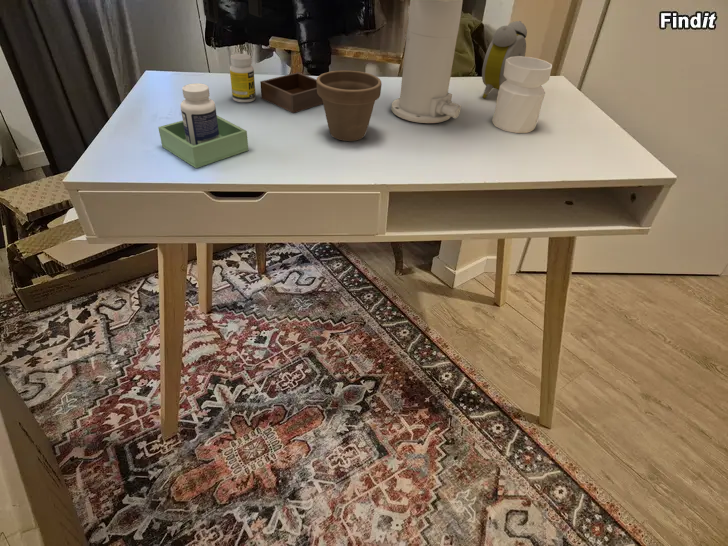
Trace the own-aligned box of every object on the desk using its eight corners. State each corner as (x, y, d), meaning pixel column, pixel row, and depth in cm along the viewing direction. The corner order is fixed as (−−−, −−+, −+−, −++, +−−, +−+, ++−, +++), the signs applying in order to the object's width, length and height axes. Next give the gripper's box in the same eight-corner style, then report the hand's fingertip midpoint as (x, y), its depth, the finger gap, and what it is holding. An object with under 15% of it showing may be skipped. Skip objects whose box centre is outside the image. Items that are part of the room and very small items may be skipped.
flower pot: (316, 121, 97) (316, 67, 90) (374, 122, 98) (378, 69, 91) (316, 147, 88) (316, 89, 81) (380, 148, 89) (385, 91, 83)
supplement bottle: (253, 103, 102) (250, 60, 96) (230, 102, 102) (225, 59, 96) (257, 95, 105) (254, 53, 100) (235, 94, 105) (231, 52, 100)
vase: (522, 137, 97) (539, 73, 89) (483, 123, 101) (497, 61, 94) (542, 125, 102) (561, 64, 94) (505, 112, 106) (519, 53, 99)
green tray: (248, 150, 85) (246, 130, 83) (195, 168, 79) (192, 147, 77) (214, 131, 90) (211, 112, 88) (162, 146, 84) (158, 126, 82)
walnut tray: (330, 101, 105) (330, 84, 103) (293, 113, 99) (292, 95, 97) (298, 88, 110) (298, 72, 108) (261, 98, 104) (260, 81, 102)
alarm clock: (496, 85, 120) (511, 17, 111) (523, 92, 117) (541, 23, 108) (475, 98, 112) (489, 25, 103) (503, 105, 110) (520, 32, 100)
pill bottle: (226, 142, 86) (219, 85, 80) (209, 155, 82) (200, 95, 76) (199, 136, 87) (190, 79, 81) (180, 148, 83) (170, 89, 77)
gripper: (192, -94, 76) (206, 28, 87) (280, -91, 86) (283, 17, 97) (165, -99, 80) (182, 19, 90) (253, -96, 90) (259, 9, 101)
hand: (234, 18), depth 94 cm, fingers open, 9 cm apart
